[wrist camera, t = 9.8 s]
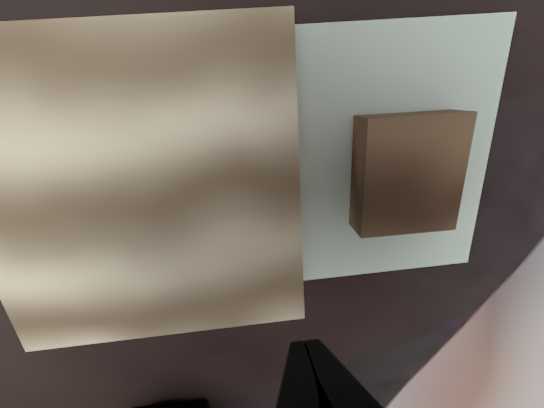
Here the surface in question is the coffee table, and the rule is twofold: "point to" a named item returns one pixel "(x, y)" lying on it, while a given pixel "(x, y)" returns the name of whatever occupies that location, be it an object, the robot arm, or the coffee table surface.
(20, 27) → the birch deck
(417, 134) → the walnut tile
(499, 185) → the coffee table surface
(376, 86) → the sage mat
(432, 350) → the coffee table surface
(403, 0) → the coffee table surface
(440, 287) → the coffee table surface
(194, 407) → the robot arm
